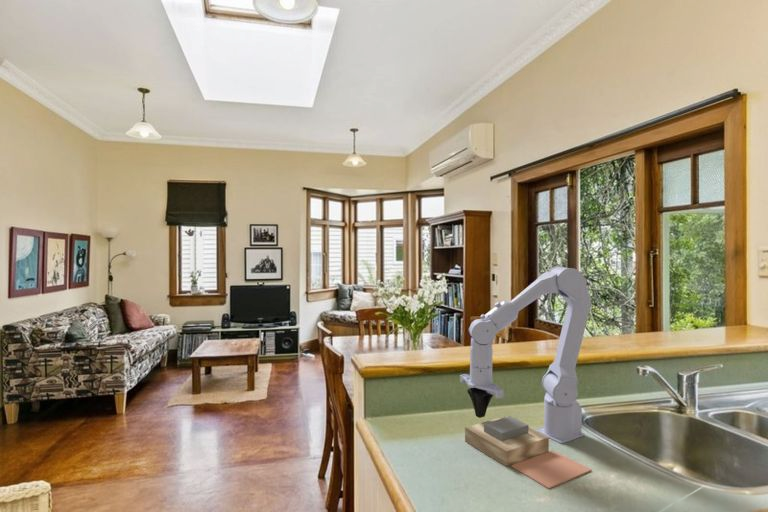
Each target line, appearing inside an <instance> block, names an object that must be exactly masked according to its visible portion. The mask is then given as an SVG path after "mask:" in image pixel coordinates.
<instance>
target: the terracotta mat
mask: <svg viewBox="0 0 768 512" xmlns="http://www.w3.org/2000/svg"><path fill="white" fill-rule="evenodd" d="M510 466H511V467H512V468H513V469H515V470H516V471H518V472H520V473H521V474H523V475H525V476H526V477H528V478H529V479H531V480H533V481H535V482H537V483H538V484H539V485H542V486H543V487H544V488H546V489H548V490H549V489H552V488H555V487H557V486H559V485H562V484H563V483H564V484H565V483H566V482H569V481H571V480H573V479H575V478H578V477H580V476H583V475H585V474H587V473H590V472H592V469H591V468H589V467H587V466H585V465H583V464H581V463H579V462H578V461H575V460H574V459H572V458H569V457H567V456H565V455H563V454H562V453H559V452H557V451H556V450H550V451H549V452H546V453H543V454H540V455H538V456H535V457H532V458H529V459H527V460H524V461H521V462H518V463H516V464H513V465H510Z"/></svg>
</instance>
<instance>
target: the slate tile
mask: <svg viewBox="0 0 768 512" xmlns="http://www.w3.org/2000/svg"><path fill="white" fill-rule="evenodd" d="M490 421H491V420H490ZM528 428H530V427H529V424H527V423H525V422H524V421H523V422H522V421H521V420H519V419H517V418H515V417H512V416H511V415H509V416H506V418H502V419H499V420H495V421H491V422H488V423H484V432H485V433H487V434H489V435H491V436H493V437H495V438H496V439H498V440H500V441H505V440H508V439H511V438H514V437H518V436H521V435H524V434H527V433H528Z"/></svg>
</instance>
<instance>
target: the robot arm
mask: <svg viewBox="0 0 768 512" xmlns="http://www.w3.org/2000/svg"><path fill="white" fill-rule="evenodd" d="M587 282H588V281H587V278H586V277H585V276H584V275H583V274H582V273H581V271H579V269H576V268H574V267H573V268H572V267H564V266H561V265H556V266H553V267H551V268H550V269H549V270H548V271H546V272H544V273H542V274H541V275H539V277H537V278H536V279H535V280H534V281H533V282H531V283H530V284H529V285H528V286H527V287H526V288H524V289H523V290H522V291H521V292H520V293H519V294H517V295H516V296H515V297H514V298H513V299H511V300H509V301H506V300H502V301H501V302H499V301H496V302H495V303H494V307H493V308H492V309H490V310H489V311H488V312H487V313H485V314H484V313H482V314H481V315H480V318H477V319H475V320H473V321H472V322H471V323H470V326H469V328H468V333H469V335H470V336H471V337H470V347H469V350H470V351H469V355H470V356H469V359H470V360H469V374H466V373H464V374H460V375H459V382H460V383H462V384H467V385H466V386H467V387H469V388H467V389H466V390H467V391H466V392H467V394H468V396H469V397H470V399H471V400H470V401H471V403H472V405H473V409H474V410H473V411H474V413H475V417H476V418H479V419H480V418H481V419H482V418H485V416H486V414H487V409H488V407H489V404H490V402H491V400H492V399H493V396H495V398H496V399H503V398H505V397H504V396H505V395H504V394H505V393H504V392H505V390H504V389H503V388H501V387H500V386H498V385H497V384H496V383H494V382H493V341H495V338H496V335H497V334H499V333H500V332H502V331H503V330H504V329H505V328H507V327H508V326H509V325H510V324H512V323H513V322H515V321H516V320H517V319H518V318H519V317H518V316H519V312H520V311H521V310H523V309H524V308H526V307H527V306H528V305H530V304H532V303H533V302H534V301H536V300H538V298H540V297H541V296H543V295H547V294H549V295H550V294H560V296H561V297H562V299H563V300H564V301H565V302H566V304H567V306H566V310H565V315H564V318H563V322H562V327H561V331H560V335H559V339H558V344H557V347H556V350H555V356H554V359H553V362H552V363H550V365H549V367H548V369H547V371H546V373H545V374H544V375H543V376H542V380H541V385H542V389H544V390H543V391H545V395H544V399H543V427H542V428H539V429H536V430H535V431H537V432H539V433H541V434H543V435H545V436H547V437H549V440H552V441H554V442H556V443H558V444H565V443H568V442H570V441H574V440H577V439H579V438H581V437H585V433H583V431H582V426H583V425H582V424H583V423H582V422H583V419H582V418H583V409H582V406H581V405H580V403H579V401H577V400H578V396H579V391H578V388H577V385H578V380H579V379H578V374H577V372H576V367H577V362H578V358H579V356H580V350H581V346H582V342H583V338H584V334H585V330H586V326H587V323H588V320H589V319H588V318H589V314H590V309H591V305H592V300H591V296H590V292H589V290H588V287H587Z"/></svg>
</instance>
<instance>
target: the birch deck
mask: <svg viewBox="0 0 768 512" xmlns="http://www.w3.org/2000/svg"><path fill="white" fill-rule="evenodd" d="M506 417H507V416H502V417H499V418H494V419H492V420H487V421H485V422H480V423H476V424H473V425H469V426H465V428H464V441H465V442H466V443H467V444H469V445H470V446H471V447H474V448H475V449H477V450H478V451H481V452H482V453H484V454H486V455H487V456H488V457H490V458H492V459H493V460H495V461H497V462H498V463H499V464H502V465H503V466H504V467H510V466H511V465H514V464H516V463H519V462H522V461H525V460H527V459H530V458H533V457H536V456H539V455H541V454H544V453H547V452H550V451H549V450H550V449H549V447H550V445H549V442H550V438H549V437H547V436H545V435H543V434H541V433H539V432H537V431H536V430H534V429H533V428H530V427H529V428H528V433H527V434H524V435H521V436H518V437H514V438H511V439H508V440H505V441H500V440H498V439H496V438H495V437H493V436H491V435H489V434H487V433H485V432H484V423H488V422H491V421H495V420H499V419H502V418H506Z"/></svg>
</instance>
